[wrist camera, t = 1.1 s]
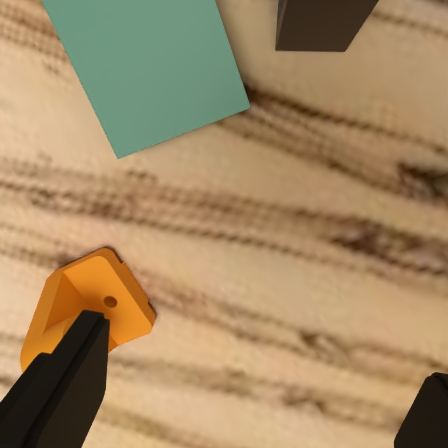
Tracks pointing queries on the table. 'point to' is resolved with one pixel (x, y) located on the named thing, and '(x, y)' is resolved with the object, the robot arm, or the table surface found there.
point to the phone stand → (320, 24)
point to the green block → (150, 66)
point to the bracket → (88, 303)
